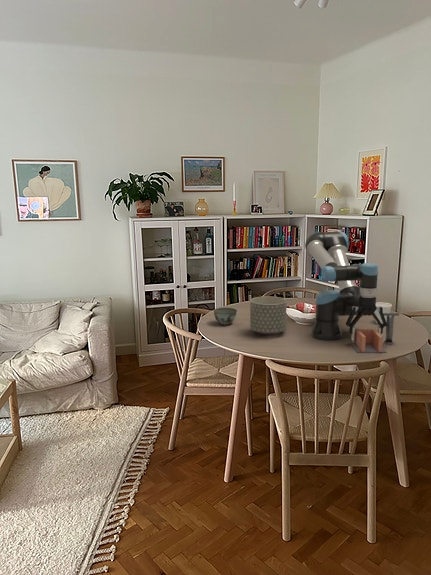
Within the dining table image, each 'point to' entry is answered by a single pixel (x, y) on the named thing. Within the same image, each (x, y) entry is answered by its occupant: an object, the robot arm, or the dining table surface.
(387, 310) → the cup
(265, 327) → the planter
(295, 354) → the dining table surface
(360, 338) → the c link
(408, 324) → the dining table surface
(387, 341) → the stand
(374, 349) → the mat
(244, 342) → the dining table surface
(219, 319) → the bowl
